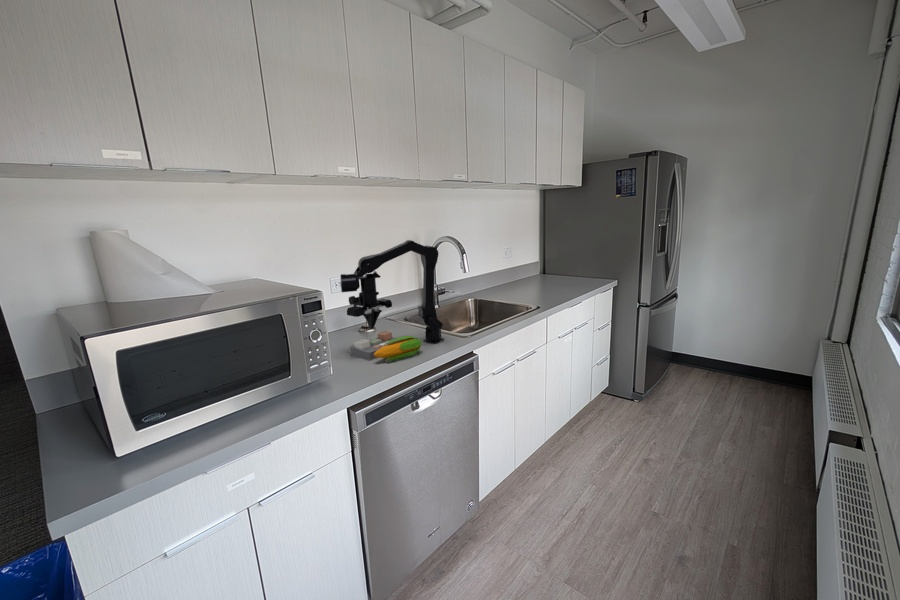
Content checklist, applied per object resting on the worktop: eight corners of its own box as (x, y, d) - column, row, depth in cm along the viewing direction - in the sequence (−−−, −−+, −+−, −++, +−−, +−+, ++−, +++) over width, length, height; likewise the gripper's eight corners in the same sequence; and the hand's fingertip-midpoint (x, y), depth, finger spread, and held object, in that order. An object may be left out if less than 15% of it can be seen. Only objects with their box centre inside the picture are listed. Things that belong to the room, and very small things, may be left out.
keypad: (384, 341, 170) (384, 334, 169) (403, 346, 163) (403, 338, 162) (351, 354, 156) (350, 346, 155) (370, 360, 149) (369, 352, 149)
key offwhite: (363, 347, 159) (362, 338, 158) (370, 349, 156) (369, 340, 155) (354, 350, 155) (354, 341, 155) (362, 352, 153) (361, 343, 152)
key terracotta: (385, 338, 168) (384, 330, 167) (392, 340, 165) (391, 332, 165) (377, 341, 165) (377, 333, 164) (385, 343, 162) (384, 335, 161)
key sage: (374, 346, 164) (374, 338, 163) (382, 348, 161) (381, 339, 160) (367, 349, 160) (366, 340, 160) (374, 351, 158) (373, 342, 157)
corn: (425, 334, 153) (377, 346, 141) (426, 353, 154) (380, 367, 142) (414, 331, 159) (368, 342, 147) (416, 350, 160) (371, 362, 148)
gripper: (372, 284, 167) (375, 320, 170) (335, 292, 153) (339, 331, 156) (391, 286, 160) (394, 323, 164) (354, 295, 146) (358, 336, 149)
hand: (371, 328), depth 158 cm, fingers closed
